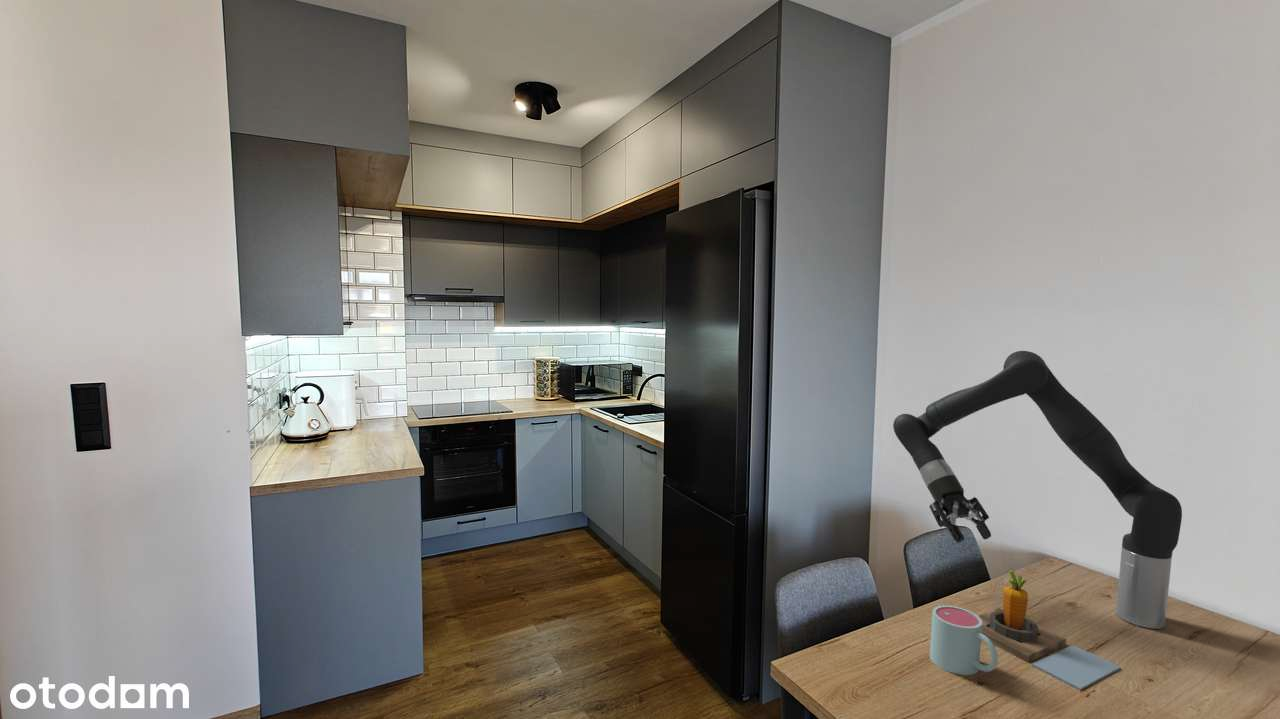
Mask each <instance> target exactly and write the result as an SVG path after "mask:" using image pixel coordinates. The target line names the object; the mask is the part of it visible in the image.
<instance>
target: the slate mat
mask: <svg viewBox="0 0 1280 719" xmlns="http://www.w3.org/2000/svg"><path fill="white" fill-rule="evenodd" d="M1031 666H1032V667H1034V668H1036V669H1038V670H1039V671H1042V672H1044V673H1046V674H1047V675H1050V676H1052V677H1054V678H1055V679H1058V680H1059V681H1062V682H1064V683H1065V684H1067V685H1069V686H1071V687H1073V688H1075V689H1076V690H1079V691H1082V690H1084V689H1085V688H1087V687H1089V686H1091V685H1093V684H1095V683H1096V682H1098V681H1100V680H1102V679H1105V678H1106V677H1108V676H1110V675H1112V674H1113V673H1115V672H1117V671H1119V670H1121V666H1119V665H1117V664H1115V663H1112V662H1110V661H1108V660H1106V659H1104V658H1101V657H1100V656H1097V655H1095V654H1093V653H1091V652H1089V651H1087V650H1084V649H1083V648H1080V647H1078V646H1075V645H1073V644H1071V645H1069V646H1067V647H1065V648H1062V649H1061V650H1059V651H1057V652H1054V653H1052V654H1051V655H1048V656H1045V657H1044V658H1041V659H1039V660H1038V661H1035V662H1032V663H1031Z"/></svg>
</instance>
